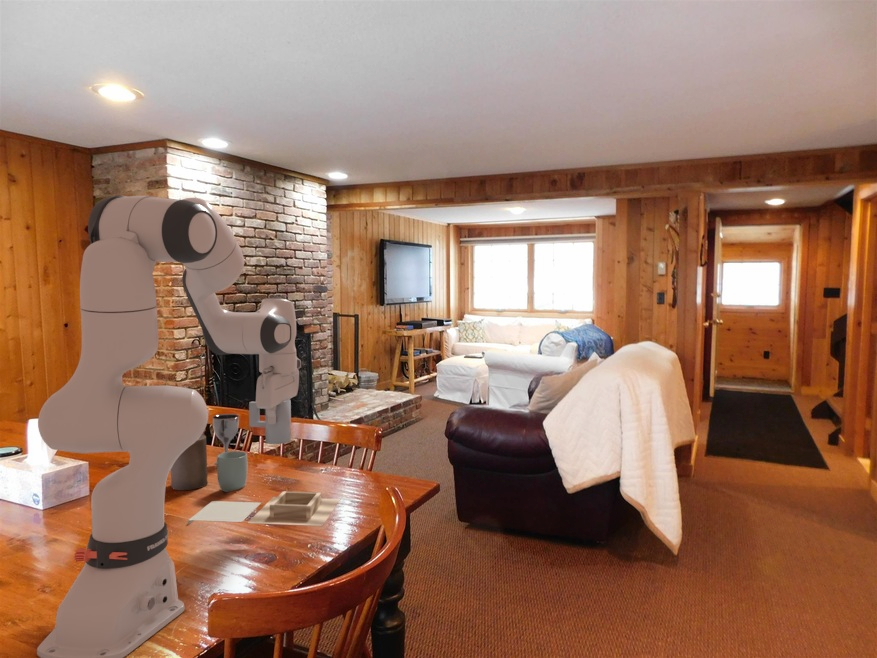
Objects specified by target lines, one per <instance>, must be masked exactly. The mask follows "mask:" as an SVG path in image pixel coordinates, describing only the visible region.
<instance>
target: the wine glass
mask: <svg viewBox="0 0 877 658" xmlns="http://www.w3.org/2000/svg"><path fill="white" fill-rule="evenodd" d="M239 424H240V415H239V414H236V413H221V414H216V415H214V416H212V428H213V432H214V434H215V436H216V437H217V438H218V439H219V440H220V441H221V442H222V444H223V447H224V452H229V444H230V443H231V441H232V440H233V439H234V438H235V436H236V435H237V433H238V430H239ZM214 464H215V465H216V464H217V460H216V461H215V462H214Z"/></svg>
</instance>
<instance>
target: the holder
mask: <svg viewBox="0 0 877 658" xmlns="http://www.w3.org/2000/svg"><path fill="white" fill-rule="evenodd" d="M340 500H341V498H323V497H322V492H320V491H319V492H316V491H315V492H314V491H285V490H284V491H283V490H282V492H281V493H279V494H278V496H272V498H270V500H269V501H268V502H266V504H264V505H263V506H262V508H261V509H259V511H257V512H256V513H255V515H254V516H253V517H251V518H250V520H249V521H247V524H252V525H253V524H254V525H255V524H256V525H257V524H259V525H283V526H288V525H289V526H313V527H315V526H317V527H319V526H320V527H323V526H324V525H325V523H327V520H328V519H329V517H330V515H331V514H332V513H333V511H334V509H335V508H336V507H337V505H338V504H339V502H341V501H340Z"/></svg>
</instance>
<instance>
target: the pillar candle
mask: <svg viewBox="0 0 877 658" xmlns="http://www.w3.org/2000/svg"><path fill="white" fill-rule="evenodd" d="M207 451H208V450H207V435H205V434H202V435H201V437H200V438H199V439H198V440H197V441H196V442H195V443H194V444H192V445H191V446H189V447H188V448H187V449H186V450H185V451H184V452H183V453H182V454H181V455H180V456H179V457H178V459H177V460H176V461H175V463H174V465H173V466H172V468H171V470H170V482H171V483H170V486H171V488H172V489H173V490H175V491H191V490H196V489H201V488H203V487H206V486H207V485H208V484H209V482H208V461H207V460H208V454H207Z"/></svg>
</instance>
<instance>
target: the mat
mask: <svg viewBox="0 0 877 658" xmlns="http://www.w3.org/2000/svg"><path fill="white" fill-rule="evenodd" d="M261 504H262V502H258V501H257V502H256V501H255V502H253V501H251V502H250V501H226V500H225V501H224V500H222V501H220V500H212V501H210V502H209V503H208V504H206V505H205V506H204V507H203V508H202V509H200V510H199V511H197V513H195V514H194V515H193V516H192V517H190V518H189V519H188V520H187V525H191V524H192V523H193V522H195V521H197V522H199V521H200V522H226V523H227V522H228V523H243V522H244V521H245V520H246V518H247V517H248V516H250V515H251V514H252V513H253V512H254V511H255V510H256V509H257V508H258V507H259V506H260V505H261Z"/></svg>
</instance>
